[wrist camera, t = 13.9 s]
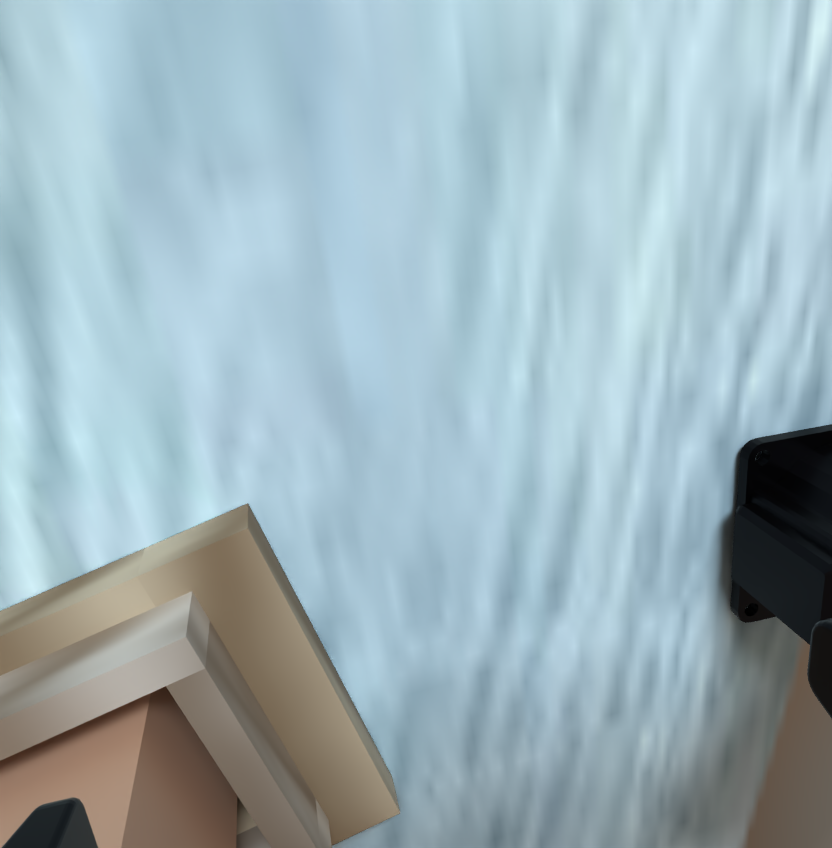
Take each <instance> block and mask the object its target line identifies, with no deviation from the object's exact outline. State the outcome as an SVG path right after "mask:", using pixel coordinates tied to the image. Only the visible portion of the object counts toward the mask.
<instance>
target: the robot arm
mask: <svg viewBox="0 0 832 848" xmlns="http://www.w3.org/2000/svg"><path fill="white" fill-rule="evenodd" d="M760 451H762V453H761V456H760V457H759V458H758V459H757V460H755V458H756V455H757V454H758V453H759V452H760ZM731 576H732V592H731V611H732V612H733V613H734V615H736V616H737V617H738V618H739V619H740V620H741V621H743V622H745V623H746V622H754V621H758V620H763V619H767V618H771V617H778V618H779V619H780V620H781V621H782V622H783V623H785V624H786V625H787V626H788V627H789V628H791V629H792V630H793V631H794V632H795V633H796V634H798V635H799V636H800V637H801V638H802V639H804V640H805V641H806V642H807V643H808V644H809V645H810V652H809V662H808V673H807V674H808V681H809V684H810V687H811V688H812V691H813V692H814V694H815V696H816V697H817V699H818V700H819V701H820V703H821V704H822V706H823V707H824V708H825V710H826V711H827V713H828V714H829V715H830V717H831V718H832V424H831V425H826V426H820V427H815V428H809V429H804V430H798V431H793V432H788V433H782V434H777V435H771V436H766V437H760V438H755V439H753V440H750V441H749V442H747V443H746V444H745V445H744V447H743V448H742V450H741V454H740V463H739V479H738V495H737V511H736V513H735V526H734V542H733V559H732V575H731ZM749 604H750V605H749ZM748 605H749V606H748ZM747 606H748V607H747ZM746 607H747V608H746ZM745 608H746V609H745ZM1 848H98V846H97V843H96V840H95V837H94V834H93V831H92V828H91V825H90V822H89V819H88V816H87V813H86V810H85V807H84V805H83V803H82V802H81V801H80V799H78V798H75V797H71V798H67V799H63V800H58V801H54V802H50V803H46V804H43V805H40V806H38V807H37V808H36V809H35V810H34V811H33V812H32V813H31V814H30V815H29V816H28V817H27V818H26V820H25V821H24V822H23V823H22V824H21V825H20V826H19V828H18V829H17V830H16V831H15V832H14V833H13V835H12V836H11V837H10V838H9V839H8V840H7V842H6V843H5V844H4V845H3V846H2V847H1Z"/></svg>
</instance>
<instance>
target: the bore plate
mask: <svg viewBox="0 0 832 848" xmlns="http://www.w3.org/2000/svg"><path fill="white" fill-rule="evenodd" d="M165 686H166V687H167V689H168V690H169V692H170V693H171V695H172V696H173V698H174V699H175V701H176V703H177V704H178V706H179V707H180V709H181V710H182V712H183V713H184V715H185V716H186V718H187V719H188V721H189V722H190V724H191V725H192V727H193V729H194V730H195V732H196V733H197V735H198V736H199V738H200V739H201V741H202V742H203V744H204V745H205V747H206V748H207V750H208V751H209V753H210V755H211V756H212V758H213V759H214V761H215V762H216V764H217V765H218V767H219V768H220V770H221V771H222V773H223V774H224V776H225V777H226V779H227V781H228V782H229V784H230V785H231V787H232V788H233V790H234V791H235V793H236V794H237V837H236V848H332V845H334V844H336V843H339V842H341V841H343V840H345V839H347V838H349V837H351V836H353V835H355V834H358V833H360V832H362V831H364V830H366V829H368V828H370V827H372V826H374V825H376V824H379V823H381V822H383V821H385V820H387V819H389V818H391V817H393V816H395V815H398V814H400V809H399V805H398V801H397V797H396V792H395V788H394V784H393V779H392V776H391V774H390V772H389V770H388V768H387V766H386V764H385V762H384V761H383V759H382V757H381V755H380V753H379V751H378V749H377V747H376V745H375V743H374V742H373V740H372V738H371V736H370V734H369V732H368V730H367V728H366V726H365V725H364V723H363V721H362V719H361V717H360V715H359V713H358V711H357V709H356V707H355V706H354V704H353V702H352V700H351V698H350V696H349V694H348V692H347V690H346V688H345V687H344V685H343V683H342V681H341V679H340V677H339V675H338V673H337V671H336V669H335V668H334V666H333V664H332V662H331V660H330V658H329V656H328V654H327V652H326V650H325V649H324V647H323V645H322V643H321V641H320V639H319V637H318V635H317V633H316V632H315V630H314V628H313V626H312V624H311V622H310V620H309V618H308V616H307V614H306V613H305V611H304V609H303V607H302V605H301V603H300V601H299V599H298V597H297V595H296V594H295V592H294V590H293V588H292V586H291V584H290V582H289V580H288V578H287V576H286V575H285V573H284V571H283V569H282V567H281V565H280V563H279V561H278V559H277V557H276V556H275V554H274V552H273V550H272V548H271V546H270V544H269V542H268V540H267V539H266V537H265V535H264V533H263V531H262V529H261V527H260V525H259V523H258V521H257V520H256V518H255V516H254V514H253V512H252V510H251V508H250V506H249V504H245V505H243V506H241V507H238V508H236V509H234V510H231V511H229V512H227V513H225V514H222V515H220V516H218V517H215V518H213V519H211V520H208V521H206V522H204V523H202V524H199V525H197V526H195V527H192V528H190V529H188V530H185V531H183V532H181V533H179V534H176V535H174V536H172V537H169V538H167V539H165V540H163V541H160V542H158V543H156V544H153V545H151V546H149V547H146V548H144V549H142V550H140V551H137V552H135V553H133V554H130V555H128V556H126V557H123V558H121V559H119V560H117V561H114V562H112V563H110V564H107V565H105V566H103V567H100V568H98V569H96V570H94V571H91V572H89V573H87V574H84V575H82V576H80V577H77V578H75V579H73V580H71V581H68V582H66V583H64V584H61V585H59V586H57V587H54V588H52V589H50V590H48V591H45V592H43V593H41V594H38V595H36V596H34V597H32V598H29V599H27V600H25V601H22V602H20V603H18V604H15V605H13V606H11V607H9V608H6V609H4V610H2V611H0V761H1V760H3V759H5V758H7V757H10V756H12V755H14V754H16V753H18V752H21V751H23V750H25V749H27V748H30V747H32V746H34V745H36V744H38V743H41V742H43V741H45V740H47V739H50V738H52V737H54V736H56V735H58V734H61V733H63V732H65V731H67V730H70V729H72V728H74V727H76V726H78V725H81V724H83V723H85V722H87V721H90V720H92V719H94V718H96V717H98V716H101V715H103V714H105V713H107V712H110V711H112V710H114V709H116V708H118V707H121V706H123V705H125V704H127V703H129V702H132V701H134V700H136V699H138V698H141V697H143V696H145V695H147V694H149V693H152V692H154V691H156V690H158V689H161V688H163V687H165Z"/></svg>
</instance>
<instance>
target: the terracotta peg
mask: <svg viewBox="0 0 832 848" xmlns="http://www.w3.org/2000/svg"><path fill="white" fill-rule="evenodd" d="M71 797H75V798H78V799H80V801H81V802H82V803H83V805H84V807H85V810H86V813H87V816H88V819H89V822H90V825H91V828H92V831H93V834H94V837H95V840H96V843H97V846H98V848H236V837H237V794H236V793H235V791H234V790H233V788H232V787H231V785H230V784H229V782H228V781H227V779H226V777H225V776H224V774H223V773H222V771H221V770H220V768H219V767H218V765H217V764H216V762H215V761H214V759H213V758H212V756H211V755H210V753H209V751H208V750H207V748H206V747H205V745H204V744H203V742H202V741H201V739H200V738H199V736H198V735H197V733H196V732H195V730H194V729H193V727H192V725H191V724H190V722H189V721H188V719H187V718H186V716H185V715H184V713H183V712H182V710H181V709H180V707H179V706H178V704H177V703H176V701H175V699H174V698H173V696H172V695H171V693H170V692H169V690H168V689H167V687H166V686H165V687H163V688H161V689H158V690H156V691H154V692H152V693H149V694H147V695H145V696H143V697H141V698H138V699H136V700H134V701H132V702H129V703H127V704H125V705H123V706H121V707H118V708H116V709H114V710H112V711H110V712H107V713H105V714H103V715H101V716H98V717H96V718H94V719H92V720H90V721H87V722H85V723H83V724H81V725H78V726H76V727H74V728H72V729H70V730H67V731H65V732H63V733H61V734H58V735H56V736H54V737H52V738H50V739H47V740H45V741H43V742H41V743H38V744H36V745H34V746H32V747H30V748H27V749H25V750H23V751H21V752H18V753H16V754H14V755H12V756H10V757H7V758H5V759H3V760H1V761H0V848H1V847H2V846H3V845H4V844H5V843H6V842H7V840H8V839H9V838H10V837H11V836H12V835H13V833H14V832H15V831H16V830H17V829H18V828H19V826H20V825H21V824H22V823H23V822H24V821H25V820H26V818H27V817H28V816H29V815H30V814H31V813H32V812H33V811H34V810H35V809H36V808H37V807H38V806H40V805H43V804H46V803H50V802H54V801H58V800H63V799H67V798H71Z"/></svg>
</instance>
